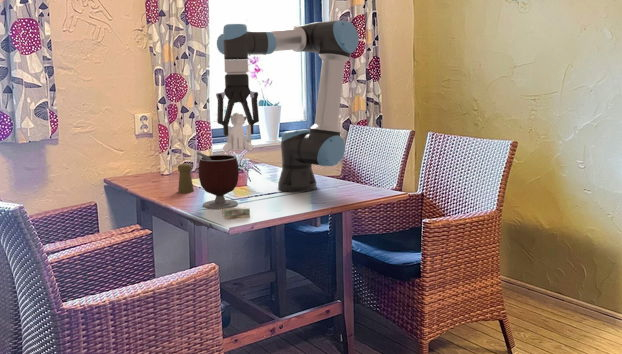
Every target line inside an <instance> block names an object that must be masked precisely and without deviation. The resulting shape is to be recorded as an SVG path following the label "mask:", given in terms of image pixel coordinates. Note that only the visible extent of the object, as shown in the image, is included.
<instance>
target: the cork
mask: <svg viewBox="0 0 622 354" xmlns="http://www.w3.org/2000/svg"><path fill="white" fill-rule="evenodd" d="M177 170H178V172H179V177H178V187H177V188H178V190H177V192H178V193H179V194H189V193H194V191H195V190H194V183H193V180H192V175H191V172H192V165H191V164H190V163H186V162H185V163H179V165H178V166H177Z"/></svg>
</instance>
